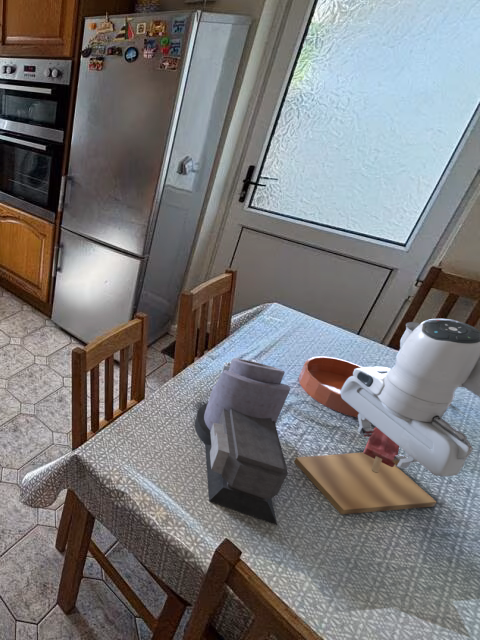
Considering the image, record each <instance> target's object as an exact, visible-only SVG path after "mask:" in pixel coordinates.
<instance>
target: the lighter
mask: <svg viewBox="0 0 480 640" xmlns="http://www.w3.org/2000/svg"><path fill="white" fill-rule="evenodd" d="M250 361H252V362H257V361H256V360H255V359H251V360H250ZM231 362H232V361H229V362H226V361H225V362H223V365H222V369H221V372H220V374H221V373H222V372H223V371H224V370H227V371H229V368H230V365H231Z"/></svg>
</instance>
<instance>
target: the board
mask: <svg viewBox="0 0 480 640" xmlns="http://www.w3.org/2000/svg"><path fill="white" fill-rule="evenodd" d="M363 452H364V451H363ZM363 452H361V451H360V452H351V453H350V452H348V453H336V454H323V455H310V456H296V457H295V459H294V460H293V463H294V464H295V465H296V467H298V468H299V470H300V471H301V472H302V473H303V474H304V475H305V476H306V477H307V478H308V480H309V481H310V482H311V483H312V484H313V485H314V486H315V487H316V488H317V490H318V491H319V492H320V493H321V494H322V495H323V496H324V498H325V499H327V501H328V502H329V503H330V504H331V505H332V506H333V507H334V509H335V510H336V511H337V512H338V513H339V514H340V515H350V514H352V515H353V514H362V513H363V514H364V513H374V512H376V513H377V512H385V511H398V510H399V511H401V510H407V509H408V510H410V509H421V508H432V507H435V505H436V504H437V501H436V500H435V499H434V497H432V496H431V495H429V493H428V492H426V491H425V490H424V489H423V488H422V487H420V486H419V484H417V483H416V482H415V481H414V480H413V479H412V478H410V476H409V475H407V474H406V473H405V472H404V471H403V470H401V469H400V468H399V467H398V466H397V465H396V464H395V465H394V467H390V466H388V465H386V464H384V463H382V462H381V465H380V469H379V472H378V473H375V472H373V471H372V466H373V463H374V460H375V459H374V458H372V457H370V456H368V455H366V454H364V453H363Z"/></svg>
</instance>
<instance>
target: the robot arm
mask: <svg viewBox="0 0 480 640" xmlns="http://www.w3.org/2000/svg"><path fill="white" fill-rule="evenodd" d="M459 388H464V389H466V391H467V390H468V391H469V392H470V393H472V394H474V395H475V396H477V397H478V398H480V330H479V329H478V328H476V327H475V326H473V325H471V324H468V323H465V322H463V321H458V320H454V319H449V318H431V319H426V320H423V321H422V322H421V324H420V325H419V326H418V327H416V328H415V329H414V330H413V332H412V333H411V334H410V335H409V336H408V338H407V339H406V340H405V342H404V344H403V345H402V347H401V348H400V347H399V350H398V352H397V354H396V356H395V364H394V365H393V366H392V367H391V368H389V367H387V366H361V368H356V369H355V370H354V371H353V376H351V377H349V378H348V379H347V380H346V382H345V383H344V385H343V387H342V389H341V391H340V394H341V397H342V399H343V400H344V401H345V402H347V403H348V404H349V405H350V406H352V407H353V408H354V409H355V410H356V411H358V412H359V414H358V417H357V419H358V420H357V421H358V425H359V426H358V428H357V432H358V433H359V434H360V435H361V436H362V437H364V438H367V437H368V438H369V437H370V436H371V435H372V433H373V432H374V430H373V429H374V428H372V425H373V426H374V427H377V428H378V429H379V430H380V431H382V432H383V433H384V434H385V435H386V436H388V437H389V438H390V439H391V440H392V441H394V442H395V443H396V444H397V445H398V446H399V448H401V449H402V450H403V451H404V452H405V453H404V454H403V455H398V456H395V457H394V460H392V462H393V463H394V464H395V466H397V467H398V468H399V469H400V470H401V469H402V470H403V469H407V468H409V466H410V464H412V463H416V462H418V463H419V464H420V465H421V466H423V467H424V468H425V469H426V470H427V471H429V473H431V474H432V475H434V476H436V477H454V476H457V475H459V473H461V471H462V468H463V467H464V465H465V462H466V460H467V458H469V457H470V456H471V454H472V452H473V451H474V447H473V446H472V444H471V443H470V441H469V440H468V437H467V435H465V433H464V432H462V431H460V430H458V429H456V428H454V426H453V425H451V424H450V423H449V422H447V420H445V419H443V418H442V417H444V415H445V413H446V412H447V410H448V408H449V407H450V406H451V404H452V402H453V401H454V399H455V396H456V391H457V389H459Z"/></svg>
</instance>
